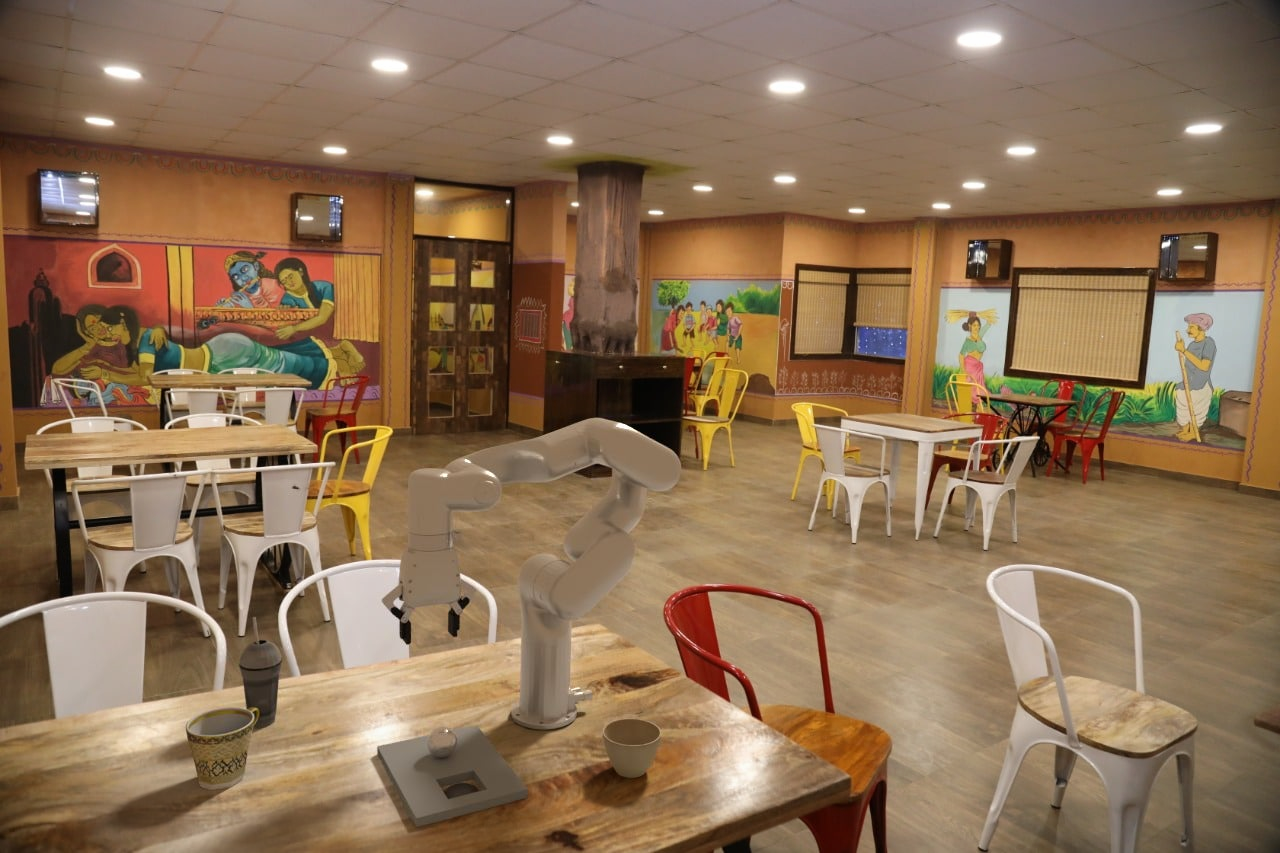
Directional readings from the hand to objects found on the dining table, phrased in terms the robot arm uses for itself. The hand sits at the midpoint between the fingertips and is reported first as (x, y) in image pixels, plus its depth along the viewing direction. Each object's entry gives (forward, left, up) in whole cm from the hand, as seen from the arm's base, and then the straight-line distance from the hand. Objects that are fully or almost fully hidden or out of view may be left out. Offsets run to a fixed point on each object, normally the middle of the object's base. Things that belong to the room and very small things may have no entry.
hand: (429, 637), depth 152 cm
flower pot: (-28, +24, -20) cm, 42 cm away
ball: (0, +8, -16) cm, 18 cm away
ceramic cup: (+32, -4, -20) cm, 38 cm away
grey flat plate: (0, +12, -20) cm, 23 cm away
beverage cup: (+25, -21, -20) cm, 39 cm away
